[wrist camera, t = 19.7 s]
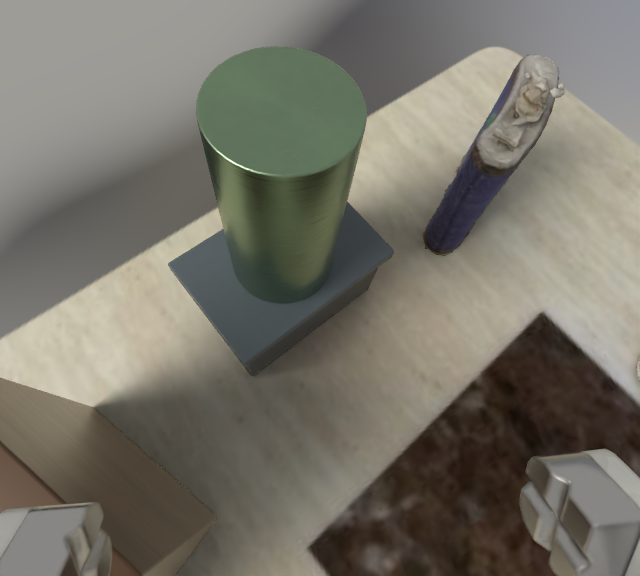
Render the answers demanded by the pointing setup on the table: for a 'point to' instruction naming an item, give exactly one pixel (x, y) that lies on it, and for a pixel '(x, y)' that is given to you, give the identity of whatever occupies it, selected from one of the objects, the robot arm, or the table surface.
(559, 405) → the table surface
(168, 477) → the block
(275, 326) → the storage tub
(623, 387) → the table surface
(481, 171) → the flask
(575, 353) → the table surface
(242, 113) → the tin
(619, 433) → the table surface
